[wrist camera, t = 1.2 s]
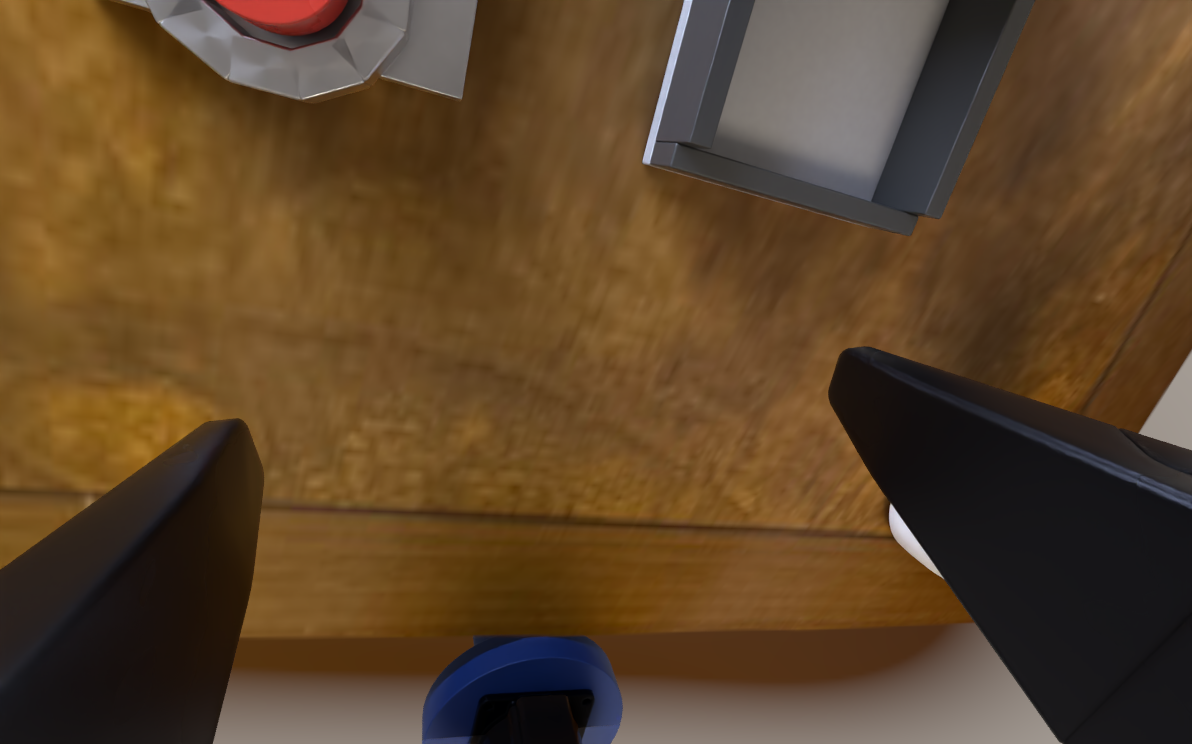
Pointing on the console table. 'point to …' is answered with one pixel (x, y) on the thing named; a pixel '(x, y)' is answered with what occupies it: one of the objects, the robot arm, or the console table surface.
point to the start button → (287, 14)
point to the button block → (330, 47)
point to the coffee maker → (833, 100)
